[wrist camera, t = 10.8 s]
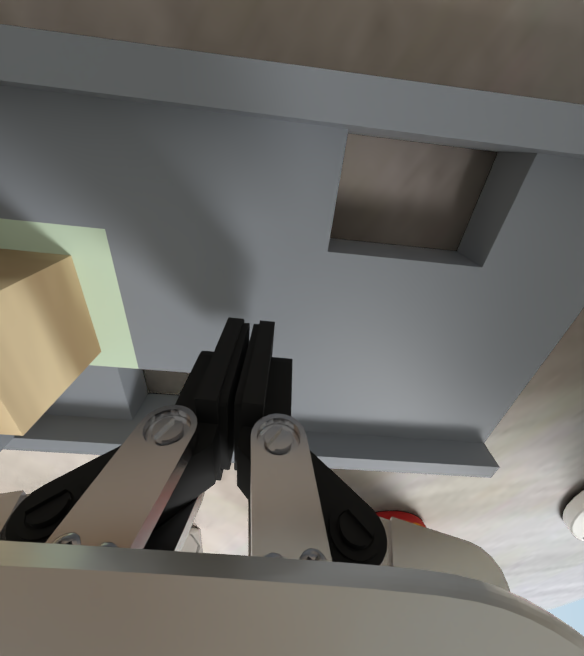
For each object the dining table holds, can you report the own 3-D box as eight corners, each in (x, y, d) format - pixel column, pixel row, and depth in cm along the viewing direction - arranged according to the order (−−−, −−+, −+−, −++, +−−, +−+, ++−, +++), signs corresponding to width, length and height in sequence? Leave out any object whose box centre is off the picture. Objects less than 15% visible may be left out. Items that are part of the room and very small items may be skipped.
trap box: (643, 136, 10) (884, 129, 6) (459, 425, 19) (508, 506, 15) (-130, 33, 9) (-510, -69, 5) (50, 397, 17) (-27, 478, 13)
